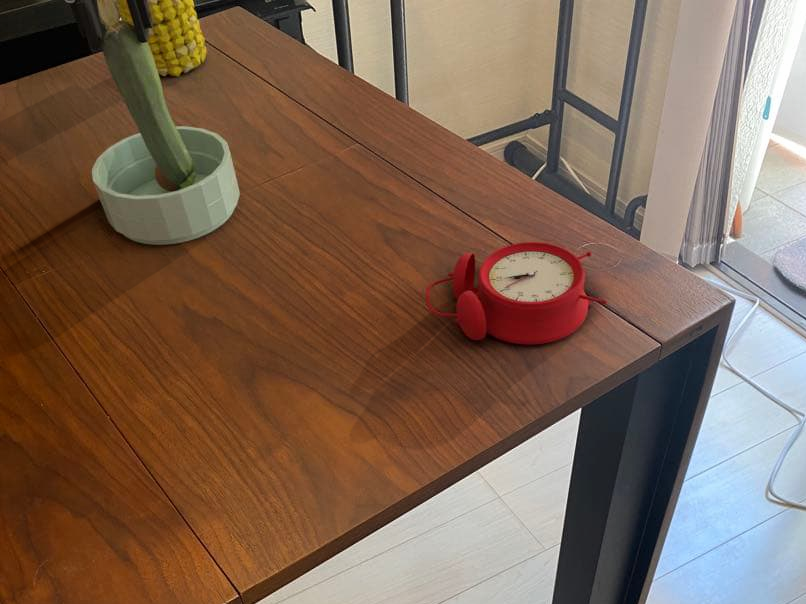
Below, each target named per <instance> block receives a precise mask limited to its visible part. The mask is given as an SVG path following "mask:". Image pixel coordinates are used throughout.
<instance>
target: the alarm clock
mask: <svg viewBox="0 0 806 604" xmlns="http://www.w3.org/2000/svg"><path fill="white" fill-rule="evenodd" d="M591 256H592V252H591V250H588V251H587V252H586V253H584V254H582V255H579V256H576V254H574V253H572V252H571V251H569V250H568V249H566V248H564V247H562V246H559V245H555V244H552V243H548V242H541V241H526V242H525V241H524V242H518V243H513V244H509V245H506V246H503V247H501V248H499V249H497V250H494V252H492V253H491V254H489V255H488V256H487V257H486V259H485V260H484V261H483V262H482V264H481V266H480V268H479V272H478V275H477V278H478V287H474V284H475V276H476V257H475V253H473V252H466V253H464V254H462V255H461V256H460V257H459V258H458V259H457V261H456V264H455V267H454V270H453V272H449V273H448V277H445V278H442V279H439V280H435V281H434V282H432V283H431V284H430V285H429V286H428V288H427V289H426V293H425V302H426V305H427V308H428V309H429V311H430V312H431V313H432V314H434V315H436V316H439V317H446V318H447V317H449V318H450V317H452V318H455V319H454V321H455V323H458V325H459V326H460V329H461V330H462V332H463V333H464V334H465V336H466V337H467V338H468V339H469V340H472V341H480V340H483V339H485V338H486V335H487V334H488V335H490V336H492V337H493V338H496V339H498V340H500V341H504V342H507V343H510V344H511V343H512V344H520V345H543V344H547V343H553V342H555V341H559V340H561V339H563V338H566V337H567V336H570V335H572V334H573V333H574V332H575V331H577V330H578V329H579V328H580V327H581V326H582V325H583V323H584V322H585V320H586V318H587V316H588V311H589V307H590V309H591V307H592V304H591V302H597V303H599V304H600V303H601V305H603V306H604V305H606V304H607V300H606V298H605V299H604V298H603V299H599V298H594V297H593V296H589V295H587V294H586V292H585V290H584V285H585V281H586V276H585V275H586V273H585V270H584V267H583V264H582V261H581V260H582V259H584V258H586V257H591ZM450 281H452V289H453V294H454V297H455V298H456V299H457V302H456V308H455V309H456V310H455V311H456V313H442V312H438V311H437V310H435V309H434V308H433V307H432V306H431V302H430V292H431V290H432V288H433V287H435V286H436V285H439V284H441V283H444V282H450ZM474 292H475V293H474Z"/></svg>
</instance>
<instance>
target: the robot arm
mask: <svg viewBox="0 0 806 604" xmlns="http://www.w3.org/2000/svg"><path fill="white" fill-rule="evenodd" d="M126 1H127V5H128V8H129V11H130V14H131V18H132V21H133V24H134V27H135V31H136V34H137V37H138V40H139V42H141V43H147V41H148V34H149V28H153V21H152V17H151V13H150V10H149V6H148V3H147V0H126ZM64 2H66V3H68V4H69V6H70V8H71V12H72V15H73V17H74V20H75V22H76V25H77V28H78V31H79V34H80V36H81V37H82V38H87V40H88V41H87V42H88V44H89V46H90V49H91V50H99V48H100V47H101V44H102V37H103V32H102V30H101V26H100V23H99V21H98V18H97V15H96V12H95V8H94V6H93V2H92V0H64Z"/></svg>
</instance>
